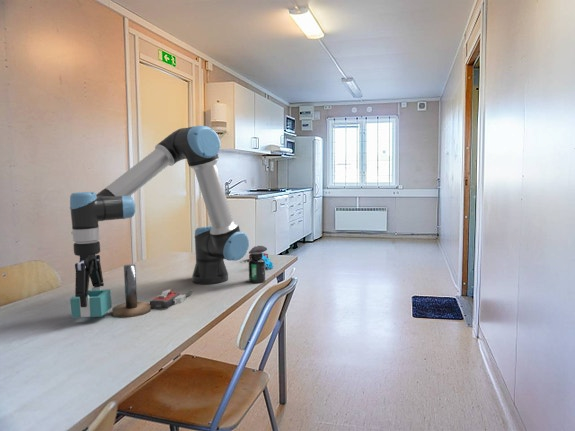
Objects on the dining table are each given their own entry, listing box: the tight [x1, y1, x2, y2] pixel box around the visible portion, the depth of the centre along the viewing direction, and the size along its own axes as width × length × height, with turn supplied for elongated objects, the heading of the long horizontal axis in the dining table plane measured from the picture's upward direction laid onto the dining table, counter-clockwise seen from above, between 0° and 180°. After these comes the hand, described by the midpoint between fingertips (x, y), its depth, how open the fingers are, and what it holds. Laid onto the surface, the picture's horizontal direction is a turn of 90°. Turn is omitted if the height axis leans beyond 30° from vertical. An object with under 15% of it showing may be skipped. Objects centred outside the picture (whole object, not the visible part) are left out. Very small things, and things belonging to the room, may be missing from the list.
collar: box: [69, 289, 113, 319], centre depth 141 cm, size 9×9×6 cm
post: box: [123, 263, 138, 309], centre depth 146 cm, size 4×4×14 cm
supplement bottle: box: [248, 252, 266, 284], centre depth 184 cm, size 7×7×12 cm
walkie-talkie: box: [149, 289, 193, 310], centre depth 158 cm, size 9×4×20 cm
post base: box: [111, 301, 152, 318], centre depth 147 cm, size 12×12×2 cm
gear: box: [261, 252, 274, 270], centre depth 210 cm, size 11×6×10 cm
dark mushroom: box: [248, 245, 269, 260], centre depth 229 cm, size 11×10×10 cm
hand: (91, 311), depth 141 cm, fingers closed on collar, 9 cm apart
